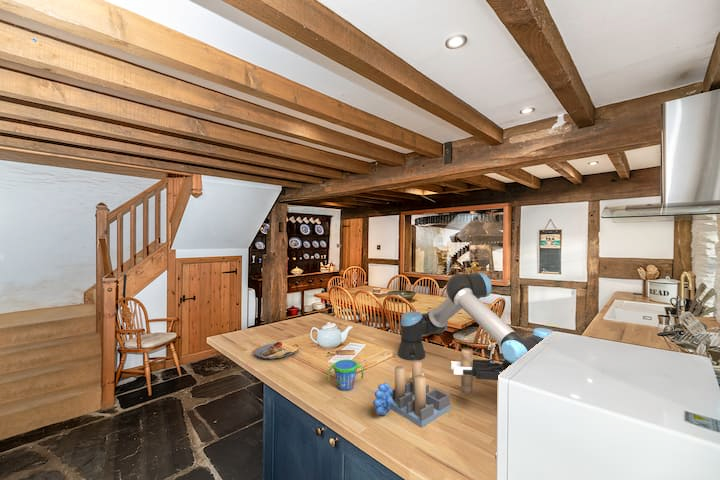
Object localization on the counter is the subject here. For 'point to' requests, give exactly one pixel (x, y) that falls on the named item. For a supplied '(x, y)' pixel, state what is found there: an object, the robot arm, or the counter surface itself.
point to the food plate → (273, 351)
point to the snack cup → (345, 373)
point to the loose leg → (467, 379)
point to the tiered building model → (411, 376)
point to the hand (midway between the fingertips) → (452, 367)
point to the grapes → (383, 399)
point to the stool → (418, 397)
